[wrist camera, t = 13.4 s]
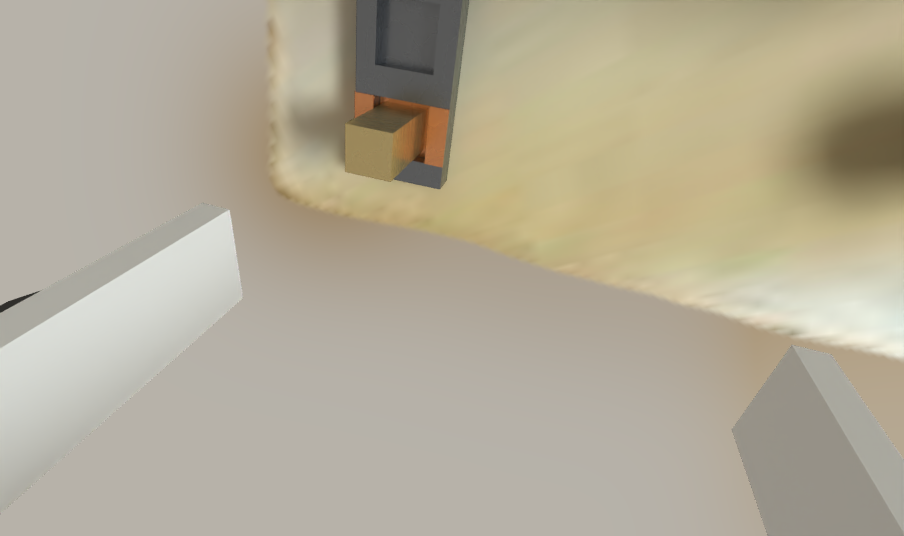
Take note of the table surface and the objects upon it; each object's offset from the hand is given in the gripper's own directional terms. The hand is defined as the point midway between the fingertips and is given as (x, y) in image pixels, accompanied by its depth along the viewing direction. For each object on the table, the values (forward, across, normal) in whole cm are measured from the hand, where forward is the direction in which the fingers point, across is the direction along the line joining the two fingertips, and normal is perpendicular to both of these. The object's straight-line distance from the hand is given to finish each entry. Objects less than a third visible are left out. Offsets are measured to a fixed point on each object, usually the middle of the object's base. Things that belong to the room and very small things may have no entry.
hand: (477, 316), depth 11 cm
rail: (+35, -13, +2) cm, 37 cm away
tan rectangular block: (+34, -13, -6) cm, 37 cm away
